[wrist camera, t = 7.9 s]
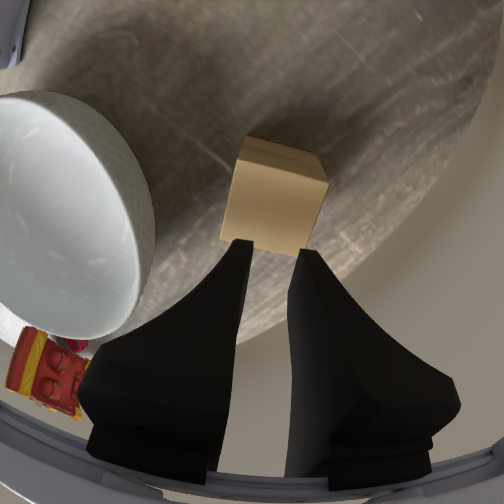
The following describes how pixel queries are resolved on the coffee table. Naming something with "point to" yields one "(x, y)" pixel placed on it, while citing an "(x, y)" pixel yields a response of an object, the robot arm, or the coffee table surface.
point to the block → (274, 197)
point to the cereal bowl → (70, 217)
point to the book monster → (47, 371)
